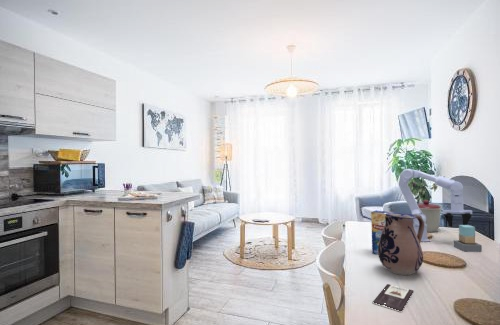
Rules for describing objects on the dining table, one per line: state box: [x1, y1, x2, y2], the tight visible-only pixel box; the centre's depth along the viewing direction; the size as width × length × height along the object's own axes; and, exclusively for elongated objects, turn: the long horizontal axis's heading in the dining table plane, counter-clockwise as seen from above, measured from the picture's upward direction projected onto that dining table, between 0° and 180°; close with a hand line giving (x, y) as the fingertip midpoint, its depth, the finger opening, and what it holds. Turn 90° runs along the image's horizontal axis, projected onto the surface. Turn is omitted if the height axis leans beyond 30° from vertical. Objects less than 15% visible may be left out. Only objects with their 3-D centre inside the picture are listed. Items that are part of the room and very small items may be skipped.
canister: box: [417, 199, 443, 233], centre depth 189 cm, size 18×18×21 cm
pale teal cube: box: [458, 224, 476, 238], centre depth 148 cm, size 5×5×5 cm
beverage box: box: [370, 210, 398, 255], centre depth 143 cm, size 7×11×22 cm, turn 45°
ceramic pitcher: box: [378, 212, 424, 276], centre depth 121 cm, size 18×21×25 cm
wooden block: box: [458, 233, 476, 245], centre depth 148 cm, size 5×5×7 cm
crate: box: [453, 239, 483, 253], centre depth 148 cm, size 9×9×4 cm
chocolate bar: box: [372, 283, 414, 312], centre depth 98 cm, size 9×1×18 cm
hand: (457, 226), depth 156 cm, fingers open, 7 cm apart
